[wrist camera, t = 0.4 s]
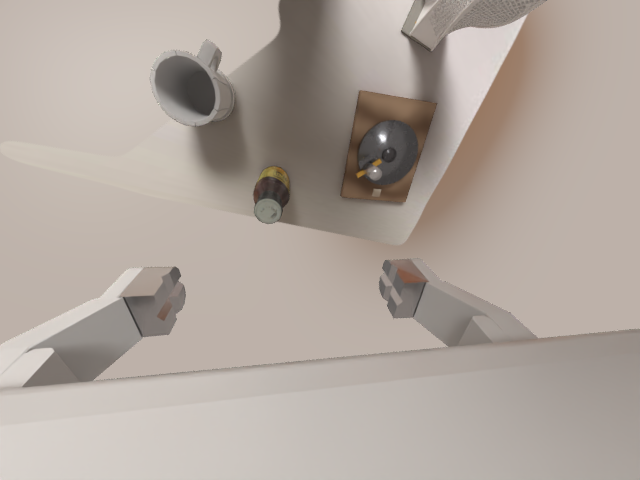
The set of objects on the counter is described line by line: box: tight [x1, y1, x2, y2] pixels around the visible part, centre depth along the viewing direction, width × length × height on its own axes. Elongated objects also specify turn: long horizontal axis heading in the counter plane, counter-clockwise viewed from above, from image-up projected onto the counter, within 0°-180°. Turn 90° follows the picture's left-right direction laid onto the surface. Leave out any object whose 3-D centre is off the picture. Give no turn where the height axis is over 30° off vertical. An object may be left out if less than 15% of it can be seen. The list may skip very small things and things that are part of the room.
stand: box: [341, 90, 437, 202], centre depth 51 cm, size 21×16×2 cm
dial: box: [356, 120, 418, 185], centre depth 47 cm, size 14×13×6 cm
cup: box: [150, 39, 235, 127], centre depth 37 cm, size 10×9×12 cm
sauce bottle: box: [253, 166, 290, 224], centre depth 43 cm, size 7×6×20 cm
